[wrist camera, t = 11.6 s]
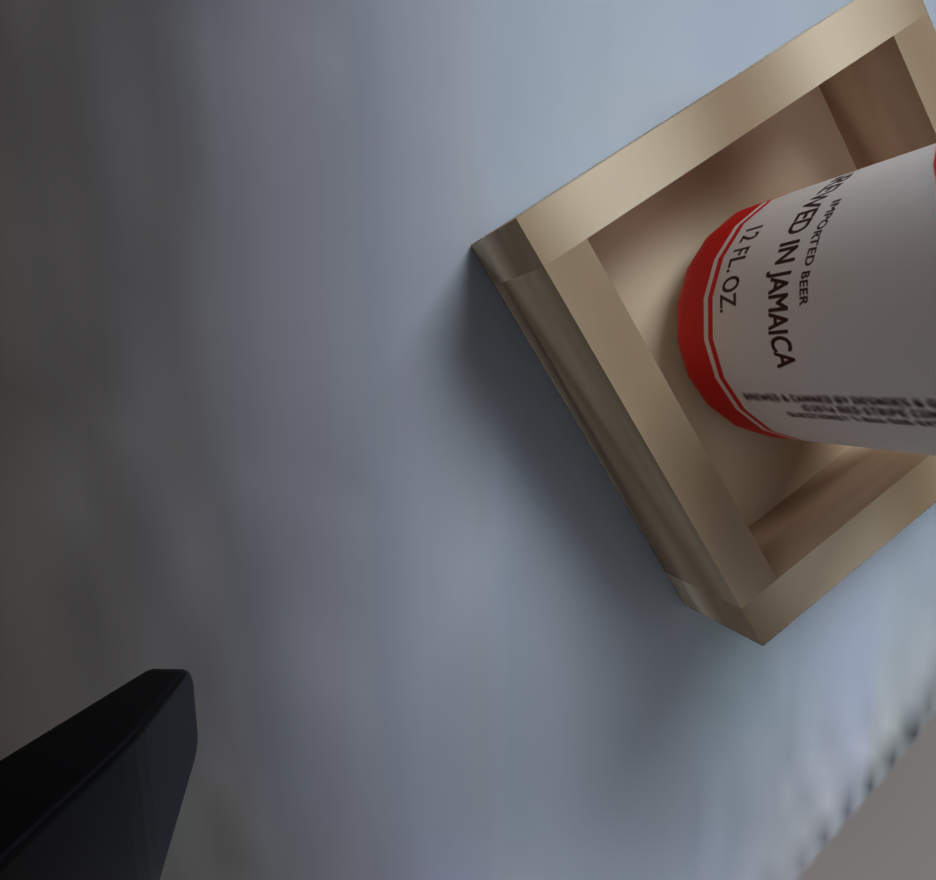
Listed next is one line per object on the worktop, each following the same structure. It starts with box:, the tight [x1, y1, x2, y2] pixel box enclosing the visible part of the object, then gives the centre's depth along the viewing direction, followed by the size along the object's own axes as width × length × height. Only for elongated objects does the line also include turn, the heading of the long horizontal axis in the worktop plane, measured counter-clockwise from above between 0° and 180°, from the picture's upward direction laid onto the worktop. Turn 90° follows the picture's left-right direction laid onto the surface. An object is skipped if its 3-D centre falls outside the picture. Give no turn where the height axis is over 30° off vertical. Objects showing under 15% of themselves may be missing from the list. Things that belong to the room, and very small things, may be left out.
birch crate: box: [471, 0, 936, 646], centre depth 20 cm, size 12×12×4 cm
